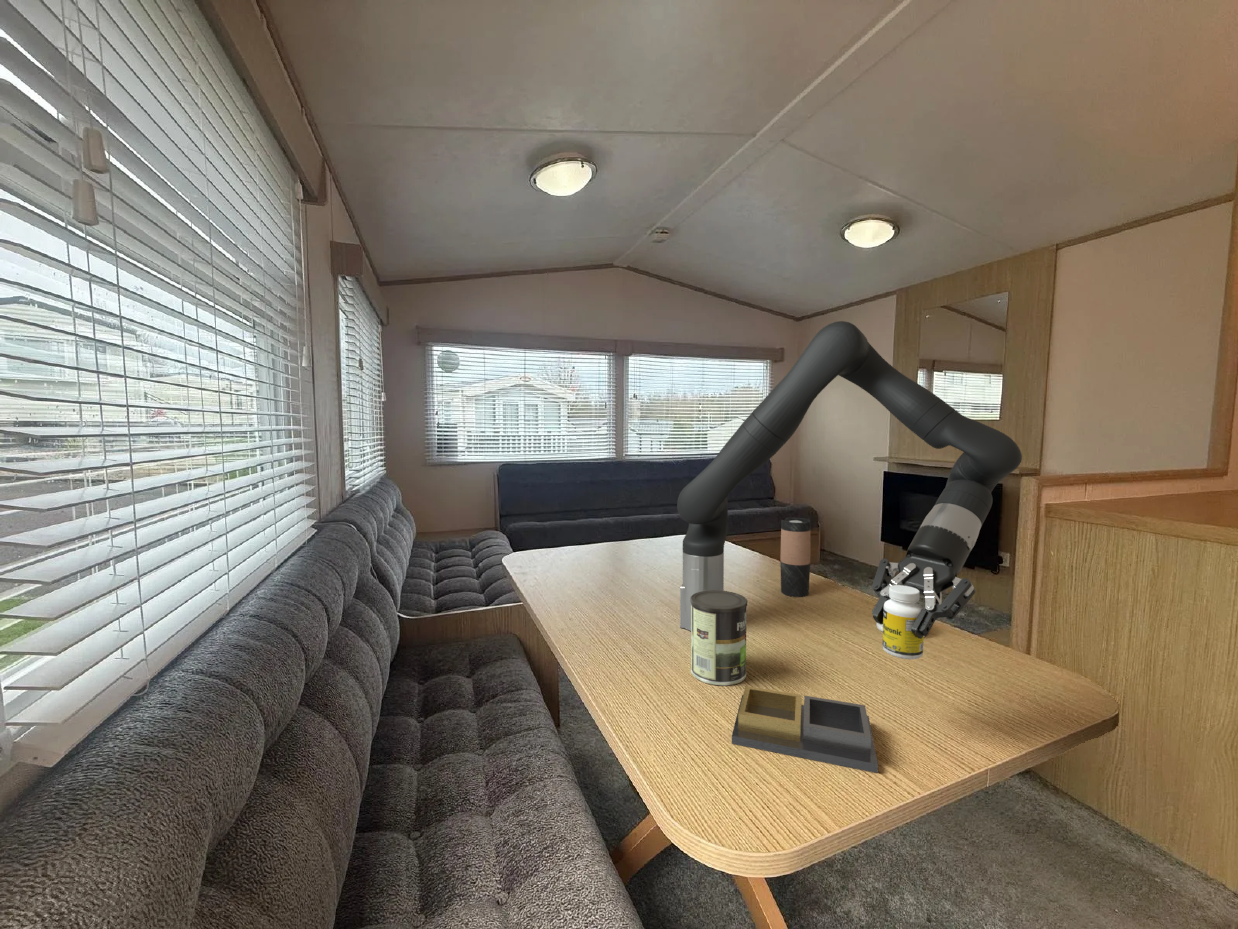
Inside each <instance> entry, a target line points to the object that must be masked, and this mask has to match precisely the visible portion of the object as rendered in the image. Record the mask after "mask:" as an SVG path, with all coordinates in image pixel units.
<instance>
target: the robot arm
mask: <svg viewBox="0 0 1238 929" xmlns="http://www.w3.org/2000/svg"><path fill="white" fill-rule="evenodd" d="M838 376H839V377H841V378H843V379H844V380H847V381H849V382H850V383H852V384H854V385H856V386H857V387H859V388H860V389H861V390H863V391H865V392H866V393H868V394H869V395H870V396H872V397H873V398H874V399H875V400H877V401H878V402H879V403H880V404H881V405H882V406H883V407H884V408H885V409H886V410H887V411H889V413H890V414H891V415H892V416H894V418H895V419H897V420H898V421H899V422H900V423H901V424H902V425H903V426H905V427H906V428H908V429H909V431H911V432H912V433H913V434H914V435H915V436H917V437H919V438H920V439H921V440H922V441H923V442H925V443H926V444H927V445H929V447H932V448H933V449H936V450H940V449H944V448H946V447H949V446H950V447H952V448H955V449H957V450H959V451H960V452H963V453H961V454H960V456H958V458H957V459H956V461H955V463H954V464H953V466H952V467H951V470H950V472H949V475H948V478H947V481H946V485H945V488H944V489H943V491H941V493H940V495H939V497H938V499H937V500H936V501H935V504H934V506H933V507H932V509H931V510H930V511H929V512H928V514H927V515H926V516H925V518H924V519H923V521H922V523H921V524H920V526H919V528H918V530H917V532H916V533H915V535H914V536H913V539H912V541H911V543H910V544H909V546H908V548H907V551H906V555H905V557H904V558H902V559H901V560H899V561H898V562H891V561H889V560H888V559H887V558H882V559H880V560H879V564H878V567H877V569H876V572H875V576H874V579H873V582H872V584H871V587H872V590H873V591H874V592H875V594H876V595H877V597H878V600H877V602H876V604H875V605H874V607H873V609H872V612H871V615H872V618H873V620H874V621H875V622H876V623H879V624H881V625H882V624H883V610H884V603H885V602H886V601H887V600H890V599H891V598H890V597H889V588H890V587H891V586H894V585H903V586H909V587H913V588H916V589H918V590H919V592H920V595H922V596H923V597H924V610H923V609H922V610H921V612H920V613H919V615H918V617H917V619H916V621H915V623H914V625H913V627H912V629H911V631H912V633H913V634H914V636H915V637H917V638H920V639H922V638H923V636H925V637H927V636H928V635H929V634H930V632H931V629H932V628H933V626H934V624H935V622H936V621H937V619H938V620H939V618H946V619H947V620H951V621H952V620H955V618H956V616H958V614H959V613H960V612H961V611H962V609H963V608H964V607H965V606H966V605H967V603H968V602H969V601H970V599H971V598H972V597H974V595H975V594H976V589H975V587H974V585H973V584H972V582H971V581H970V579H969V578H968V577H966V578H965V577H964V578H959V577H958V575H959V574H960V572H961V570H962V569H963V567H964V566H965V563H966V561H967V559H968V557H969V555H970V553H971V551H972V550H973V548H974V546H975V545H976V542H977V541H978V540H977V539H978V537H979V534H980V530H981V528H982V526H983V524H984V522H985V520H986V518H987V516H988V515H989V512H990V510H991V508H992V505H993V500H994V499H993V495H992V492H993V490H994V489H995V487H996V486H997V485H998V483H1000V482H1001V481H1002V480H1003V479H1004V478H1006V477H1008V476H1009V475H1010V474H1012V473H1013V472H1014V471H1015V470H1016V469H1017V468H1019V466H1020V465H1021V463H1022V459H1023V458H1022V457H1023V456H1022V451H1021V449H1020V447H1019V446H1018V443H1016V442H1015V440H1013V438H1011V437H1010V436H1008V435H1007V434H1005V433H1004V432H1002V431H1000V430H998V429H996V428H993V427H991V426H990V425H987V424H984V423H982V422H980V421H977V420H974V419H973V418H970V417H966V416H965V415H963V414H962V413H960V412H959V411H958V410H956V409H955V408H954V407H952V406H951V405H949V404H948V403H947V402H945V401H944V400H943V399H941V397H939V396H937V395H936V394H934V393H933V392H931V391H930V390H929V389H927V388H926V387H924V386H922V385H921V384H919V383H917V382H916V381H914V380H913V379H911V378H909V377H907V376H906V375H904V374H903V373H901V372H900V371H899V370H897V369H896V368H895V367H894V366H893V365H891V364H890V363H889V362H887V361H886V360H885V358H884V357H883V356H882V355H881V354H879V352H878V351H877V350H876V349H875V348H874V347H873V346H872V344H870V342H869V341H868V338H867V337H866V335H865V334H864V333H863V332H862V331H861V330H860V329H859V327H857V325H855V324H853V323H852V322H849V321H844V320H842V321H841V320H839V321H834V322H831V323H829V324H826V325H825V326H824V327H822V328H821V329H820V330H818V332H817V333H816V334H815V335H814V337H813V338H812V339H811V341H810V342H809V344H808V345H807V346H806V348H805V349H804V351H803V352H802V353H801V355H800V356H799V357H798V359H797V360H796V362H795V363H794V365H793V366H792V367H791V369H790V370H789V371H788V372H787V374H786V375H785V376H784V377H783V378H782V379H781V380H780V381H779V382H778V384H776V385H775V386H774V388H773V389H772V390H771V391H770V392H769V393H768V395H766V396H765V397H764V399H763V400H762V401H761V402H760V403H759V404H758V405H757V406H756V408H755V409H754V410H752V412H751V413H750V414H749V415H748V416H747V417H746V418H745V420H744V421H743V422H742V423H741V424H740V426H739V427H738V428H737V430H736V431H735V432H734V433H733V434H732V436H731V437H730V438H729V440H728V441H727V442H726V443H725V444H724V445H723V447H722V448H721V449H720V451H719V452H718V453H717V455H716V456H715V457H714V459H713V460H712V461H711V462H710V463H709V464H708V465H707V466H706V467H705V468H703V470H702V471H701V472H700V473H699V474H698V475H696V477H694V478H693V479H692V480H691V481H690V482H689V483H687V485H685V486H684V487H683V488H682V490H681V491H680V492H679V495H678V498H677V501H676V502H677V503H676V509H677V512H678V514H679V517H680V518H681V519H682V520H683V521H684V522H686V523H688V527H687V531H686V533H685V535H684V537H683V539H682V584H681V585H680V588H679V589H680V590H679V594H680V595H679V596H680V597H679V598H680V599H679V603H680V604H679V605H680V606H679V607H680V608H679V610H680V611H679V612H680V613H679V614H680V615H679V618H680V620H679V628H682V629H686V630H687V631H690V632H691V602H690V597H691V596H692V595H693V594H695V593H697V592H701V591H709V590H721V591H725V590H724V589H725V588H724V586H725V585H724V584H725V583H724V582H725V580H724V579H725V578H724V574H725V567H724V566H725V559H724V558H725V543H726V540H727V535H728V518H729V517H728V514H729V507H728V506H729V505H728V504H729V502H728V496H729V495H730V494H731V492H733V490H734V489H735V488H736V487H737V486H738V485H739V484H740V483H741V482H742V481H744V480H745V479H747V478H748V477H749V476H750V475H752V474H753V473H754V472H756V471H757V470H758V469H759V468H761V467H762V466H763V465H765V463H767V462H768V461H769V460H770V459H772V458H773V457H774V455H776V454H777V453H778V452H779V451H780V450H781V449H782V447H783V446H785V444H786V443H787V442H788V441H789V440H790V439H791V438H792V436H793V435H794V434H795V432H796V431H797V429H798V428H799V426H800V425H801V424H802V421H803V420H804V418H805V416H806V414H807V412H808V410H809V409H810V407H811V404H812V403H813V402H814V400H815V399H816V398H817V397H818V395H819V394H820V393H821V392H822V391H823V390H824V389H825V388H826V387H827V386H829V384H830V383H831V382H832V381H834V380H835V379H836V378H837V377H838ZM897 572H898V574H896V573H897ZM895 575H896V576H895ZM951 588H952V590H951V592H950V593H948V595H947V596H946V597H945V599H944V600H943V601H942V596H943V595H942V592H945V591H946V590H948V589H951Z"/></svg>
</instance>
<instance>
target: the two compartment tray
mask: <svg viewBox="0 0 1238 929" xmlns="http://www.w3.org/2000/svg"><path fill="white" fill-rule="evenodd" d="M744 686H745V687H744V689H743V694H742V695H741V698H740V702H739V706H738V709H737V714H736V718H735V722H734V725H733V729H732V733H731V744H732V745H736V746H741V747H747V748H753V749H755V750H756V749H757V750H761V751H762V750H763V751H765V752H771V753H778V754H783V755H786V756H791V757H796V758H800V759H801V758H802V759H806V760H811V761H817V762H821V763H827V764H831V765H835V766H841V767H846V768H850V769H855V770H861V771H865V772H871V773H877V774H878V771H879V770H878V769H879V764H878V757H877V752H876V749H875V742H874V737H873V732H872V727H871V722H870V721H871V720H870V717H869V715H868V713H867V709H866V705H865V704H861V703H860V704H859V703H854V702H853V703H852V702H846V701H840V700H835V699H829V698H822V697H815V696H810V695H803V696H804V697H802V694H799V693H797V694H796V693H793V692H786V691H779V690H773V689H767V688H762V687H761V688H760V687H755V686H748V685H744ZM802 698H804V699H802ZM802 700H803V704H802Z"/></svg>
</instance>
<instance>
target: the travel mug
mask: <svg viewBox="0 0 1238 929" xmlns="http://www.w3.org/2000/svg"><path fill="white" fill-rule="evenodd" d="M811 524H812V523H811V520H810V519H808V518H802V517H786V518H785V519H784V520H783V519H781V522H780V527H781V528H780V530H781V531H780V556H779V558H780V591H781V594H783V595H786V596H787V597H792V596H793V598H801V597H802V598H804V597H808V596H809V593H810V592H809V590H810V576H811V575H810V574H811V573H810V572H811V529H812V528H811V526H812V525H811ZM803 596H804V597H803Z"/></svg>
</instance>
